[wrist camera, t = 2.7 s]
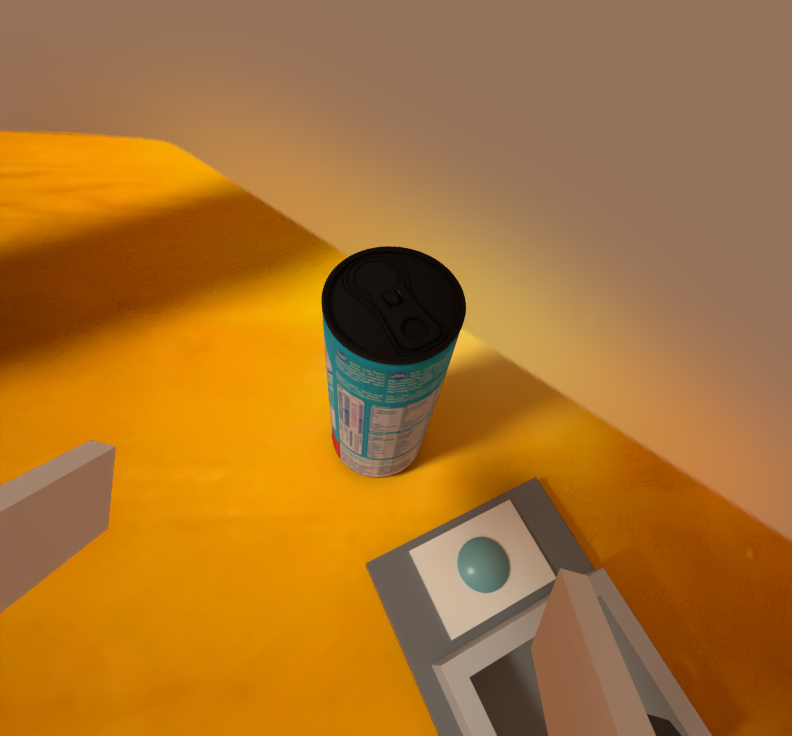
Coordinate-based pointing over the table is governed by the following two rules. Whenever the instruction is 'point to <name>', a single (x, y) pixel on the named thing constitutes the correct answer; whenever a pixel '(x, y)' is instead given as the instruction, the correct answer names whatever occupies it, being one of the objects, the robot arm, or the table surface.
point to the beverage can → (387, 353)
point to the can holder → (503, 617)
